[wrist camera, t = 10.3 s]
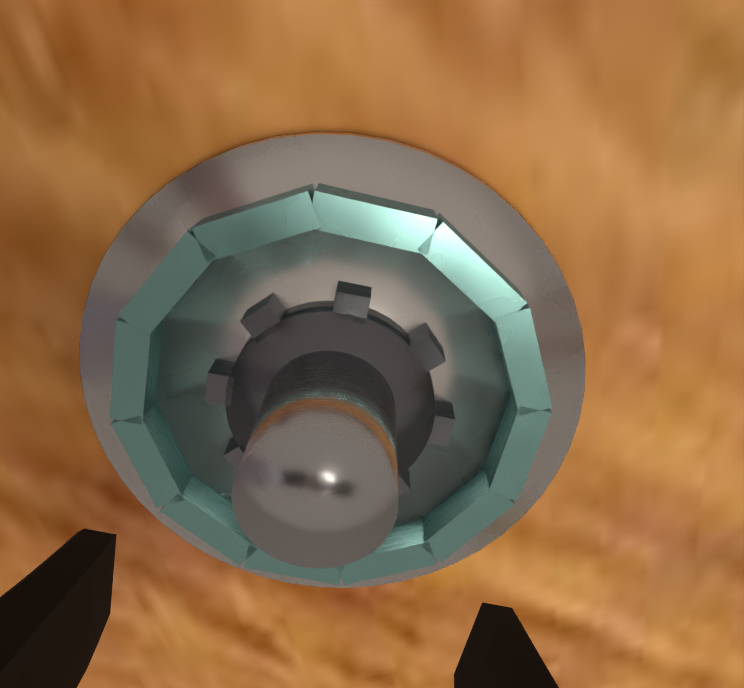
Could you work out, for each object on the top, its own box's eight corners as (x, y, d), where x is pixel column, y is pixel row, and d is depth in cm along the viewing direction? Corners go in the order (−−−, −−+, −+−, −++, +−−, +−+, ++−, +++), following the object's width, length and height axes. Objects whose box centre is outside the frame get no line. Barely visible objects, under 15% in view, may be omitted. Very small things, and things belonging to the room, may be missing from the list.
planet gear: (203, 471, 21) (147, 594, 16) (227, 258, 18) (167, 329, 13) (421, 510, 22) (432, 641, 17) (479, 308, 19) (513, 395, 14)
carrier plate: (80, 527, 24) (55, 566, 22) (103, 70, 17) (70, 70, 15) (494, 605, 25) (503, 648, 23) (657, 202, 18) (687, 217, 17)
